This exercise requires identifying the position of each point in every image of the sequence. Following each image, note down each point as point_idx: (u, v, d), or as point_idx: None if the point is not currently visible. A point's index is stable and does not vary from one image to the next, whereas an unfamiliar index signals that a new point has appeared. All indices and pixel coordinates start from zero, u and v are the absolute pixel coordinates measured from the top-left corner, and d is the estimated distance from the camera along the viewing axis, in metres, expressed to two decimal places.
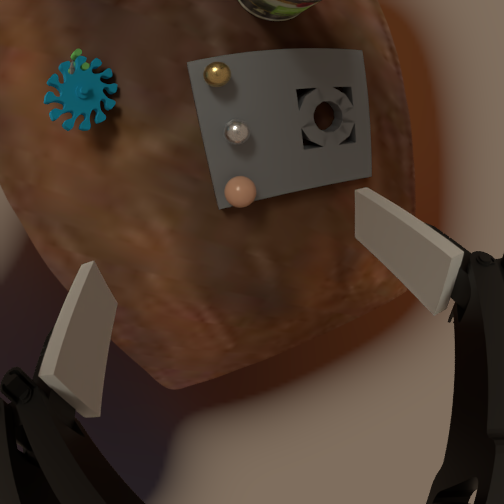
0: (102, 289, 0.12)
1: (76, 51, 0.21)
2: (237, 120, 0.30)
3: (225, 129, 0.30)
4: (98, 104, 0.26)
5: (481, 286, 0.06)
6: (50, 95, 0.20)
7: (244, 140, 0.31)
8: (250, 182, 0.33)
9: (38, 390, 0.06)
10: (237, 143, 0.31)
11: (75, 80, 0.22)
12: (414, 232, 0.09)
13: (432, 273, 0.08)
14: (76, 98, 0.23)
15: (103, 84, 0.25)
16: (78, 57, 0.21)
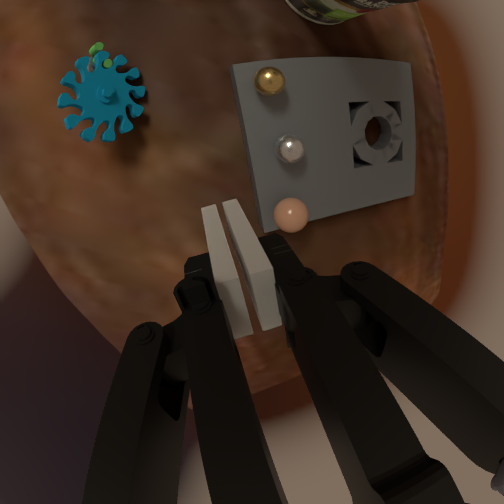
0: None
1: (96, 45, 0.18)
2: (292, 135, 0.26)
3: (278, 145, 0.27)
4: (124, 110, 0.23)
5: (300, 313, 0.07)
6: (65, 97, 0.17)
7: (299, 159, 0.27)
8: (303, 205, 0.30)
9: (221, 306, 0.08)
10: (291, 162, 0.28)
11: (96, 80, 0.19)
12: (238, 245, 0.10)
13: (250, 287, 0.10)
14: (97, 102, 0.20)
15: (129, 86, 0.22)
16: (99, 52, 0.18)
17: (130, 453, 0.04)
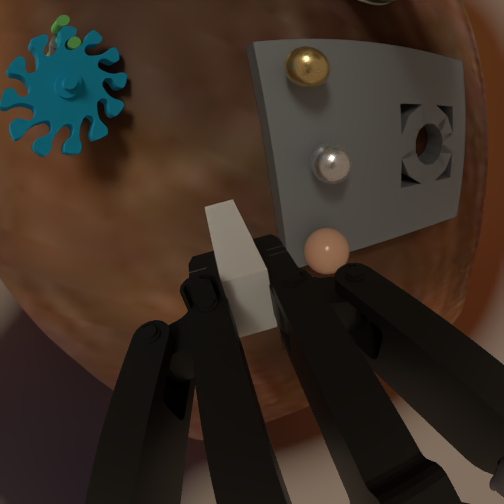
0: None
1: (60, 19, 0.10)
2: (336, 146, 0.19)
3: (318, 159, 0.19)
4: (94, 108, 0.15)
5: (295, 315, 0.07)
6: (9, 95, 0.09)
7: (344, 179, 0.20)
8: (344, 240, 0.22)
9: (227, 304, 0.08)
10: (334, 183, 0.20)
11: (55, 66, 0.11)
12: None
13: None
14: (55, 98, 0.12)
15: (103, 73, 0.14)
16: (62, 28, 0.10)
17: (135, 452, 0.04)
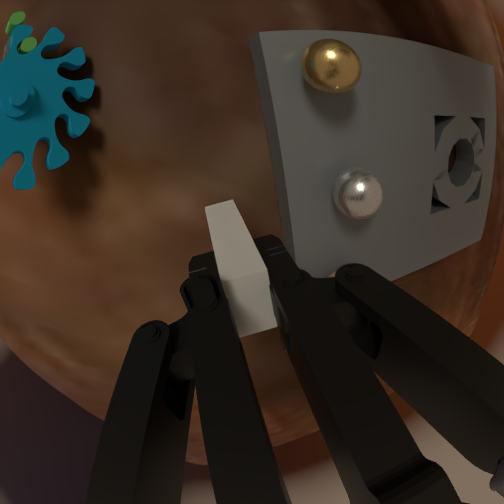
0: None
1: (14, 16, 0.05)
2: (366, 172, 0.14)
3: (343, 189, 0.15)
4: (51, 127, 0.11)
5: (295, 315, 0.07)
6: None
7: None
8: None
9: (227, 304, 0.08)
10: (362, 218, 0.15)
11: (2, 77, 0.07)
12: None
13: None
14: (2, 118, 0.08)
15: (64, 81, 0.10)
16: (16, 28, 0.06)
17: (135, 452, 0.04)
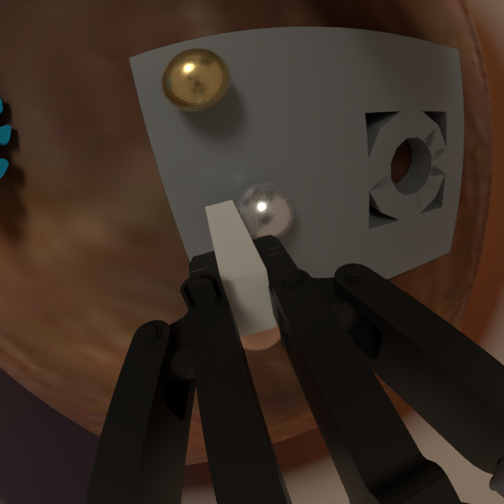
0: None
1: None
2: (272, 187, 0.14)
3: (253, 214, 0.14)
4: None
5: (294, 315, 0.07)
6: None
7: None
8: None
9: (228, 304, 0.08)
10: None
11: None
12: None
13: None
14: None
15: None
16: None
17: (135, 452, 0.04)
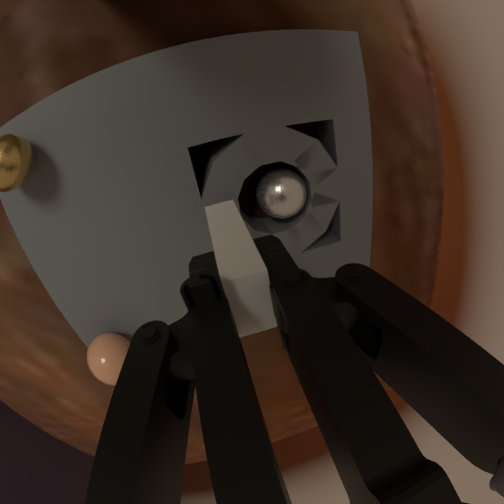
0: None
1: None
2: (282, 168, 0.17)
3: (303, 185, 0.16)
4: None
5: (295, 315, 0.07)
6: None
7: None
8: (118, 355, 0.16)
9: (227, 304, 0.08)
10: None
11: None
12: None
13: None
14: None
15: None
16: None
17: (135, 452, 0.04)
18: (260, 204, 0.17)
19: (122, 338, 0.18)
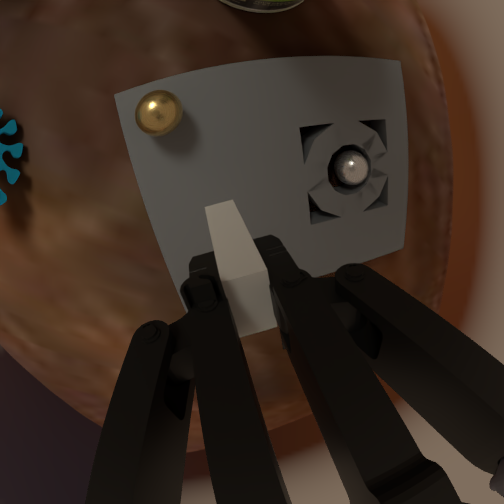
0: None
1: None
2: None
3: None
4: None
5: (295, 315, 0.07)
6: None
7: None
8: None
9: (227, 304, 0.08)
10: None
11: None
12: None
13: None
14: None
15: (3, 146, 0.14)
16: None
17: (135, 452, 0.04)
18: (339, 173, 0.23)
19: None
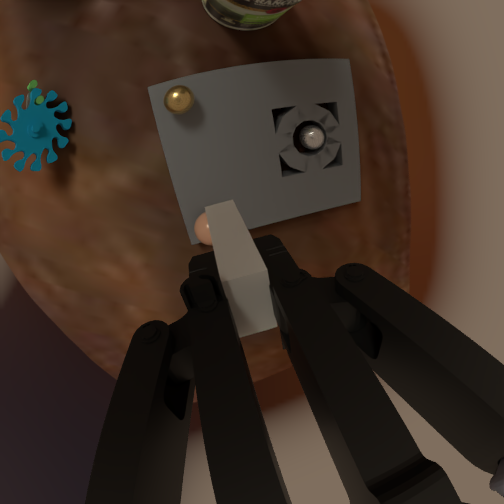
0: None
1: (31, 83, 0.18)
2: None
3: (322, 132, 0.31)
4: (50, 143, 0.23)
5: (295, 315, 0.07)
6: (2, 134, 0.18)
7: None
8: None
9: (227, 304, 0.08)
10: None
11: (28, 116, 0.20)
12: None
13: None
14: (28, 137, 0.21)
15: (57, 120, 0.23)
16: (33, 90, 0.19)
17: (135, 452, 0.04)
18: (302, 141, 0.32)
19: None
